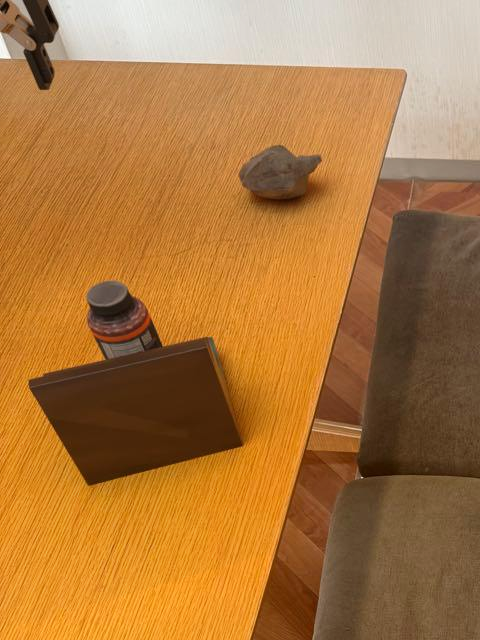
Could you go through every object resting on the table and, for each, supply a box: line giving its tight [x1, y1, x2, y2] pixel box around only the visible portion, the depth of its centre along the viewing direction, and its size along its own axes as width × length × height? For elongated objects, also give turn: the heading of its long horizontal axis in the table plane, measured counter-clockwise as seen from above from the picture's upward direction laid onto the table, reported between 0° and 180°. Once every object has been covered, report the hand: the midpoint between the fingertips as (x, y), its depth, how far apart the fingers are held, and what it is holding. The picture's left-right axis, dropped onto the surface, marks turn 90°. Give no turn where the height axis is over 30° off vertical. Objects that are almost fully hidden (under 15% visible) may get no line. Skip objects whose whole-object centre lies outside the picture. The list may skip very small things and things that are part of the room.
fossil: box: [238, 144, 323, 200], centre depth 120 cm, size 11×9×8 cm
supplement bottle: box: [85, 280, 164, 360], centre depth 93 cm, size 6×6×11 cm
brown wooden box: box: [27, 336, 244, 486], centre depth 93 cm, size 15×16×14 cm
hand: (0, 87), depth 85 cm, fingers open, 8 cm apart
